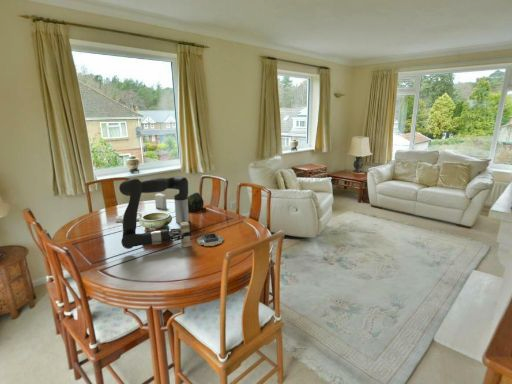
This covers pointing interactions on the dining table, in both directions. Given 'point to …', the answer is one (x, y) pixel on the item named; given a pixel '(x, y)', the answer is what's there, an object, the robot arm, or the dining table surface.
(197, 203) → the squash
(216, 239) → the rosette plate
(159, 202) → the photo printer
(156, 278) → the dining table surface
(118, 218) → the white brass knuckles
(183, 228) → the wedge peg
